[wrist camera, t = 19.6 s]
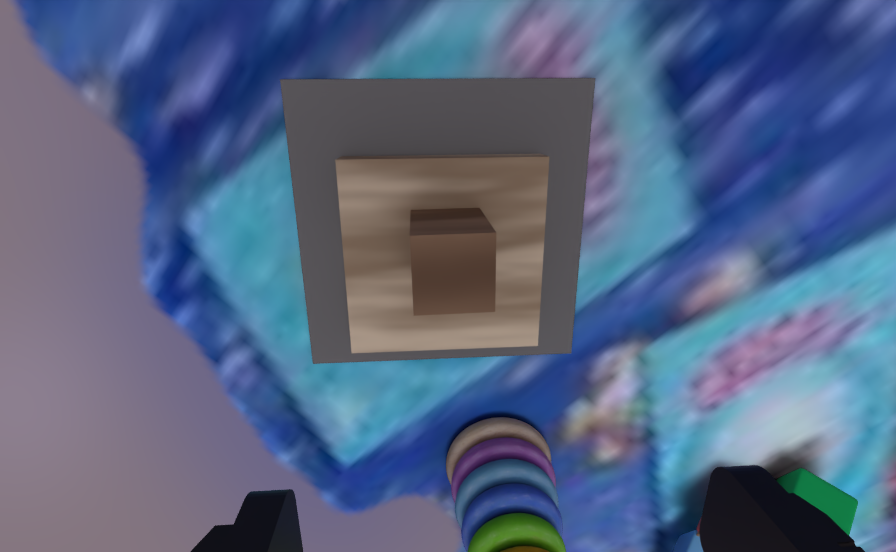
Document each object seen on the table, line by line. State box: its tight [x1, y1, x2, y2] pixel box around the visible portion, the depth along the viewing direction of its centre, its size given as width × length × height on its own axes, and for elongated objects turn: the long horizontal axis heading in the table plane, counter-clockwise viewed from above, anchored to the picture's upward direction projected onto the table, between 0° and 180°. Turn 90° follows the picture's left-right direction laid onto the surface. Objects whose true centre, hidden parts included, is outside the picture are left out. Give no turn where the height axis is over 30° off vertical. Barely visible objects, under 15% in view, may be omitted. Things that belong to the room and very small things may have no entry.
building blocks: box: [673, 468, 858, 552], centre depth 37 cm, size 8×8×12 cm
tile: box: [335, 154, 549, 353], centre depth 29 cm, size 2×12×12 cm
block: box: [410, 208, 496, 316], centre depth 25 cm, size 4×4×6 cm
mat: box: [280, 78, 595, 364], centre depth 30 cm, size 18×18×1 cm
